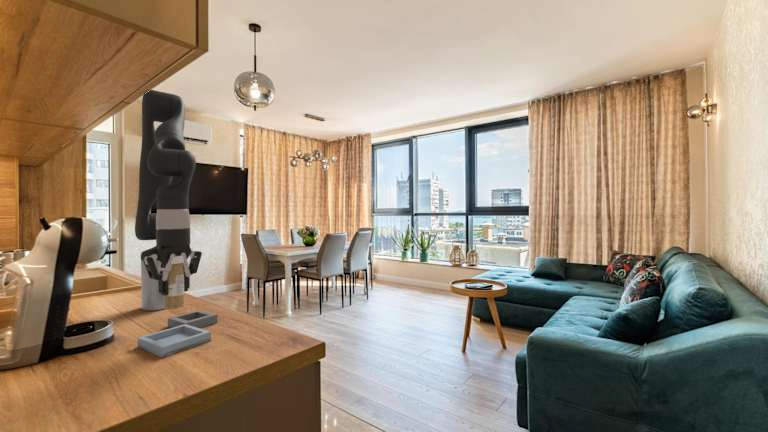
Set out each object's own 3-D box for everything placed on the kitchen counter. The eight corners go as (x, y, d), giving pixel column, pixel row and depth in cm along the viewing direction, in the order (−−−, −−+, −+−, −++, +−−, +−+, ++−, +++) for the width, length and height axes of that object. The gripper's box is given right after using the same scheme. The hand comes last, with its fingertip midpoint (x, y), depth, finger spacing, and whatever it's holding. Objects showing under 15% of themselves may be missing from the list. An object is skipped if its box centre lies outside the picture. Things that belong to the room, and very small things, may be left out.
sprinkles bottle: (160, 309, 88) (159, 256, 88) (176, 304, 92) (175, 254, 92) (173, 310, 86) (172, 257, 86) (189, 305, 91) (188, 254, 90)
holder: (167, 326, 103) (167, 317, 103) (199, 317, 111) (199, 309, 111) (185, 332, 98) (185, 323, 98) (217, 322, 106) (217, 314, 106)
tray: (137, 347, 87) (137, 337, 87) (185, 332, 98) (185, 324, 98) (162, 357, 81) (162, 347, 81) (210, 340, 91) (210, 331, 91)
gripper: (192, 225, 97) (193, 286, 97) (134, 228, 85) (136, 297, 85) (208, 226, 93) (209, 289, 93) (150, 228, 81) (151, 301, 81)
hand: (174, 292), depth 89 cm, fingers closed on sprinkles bottle, 4 cm apart
